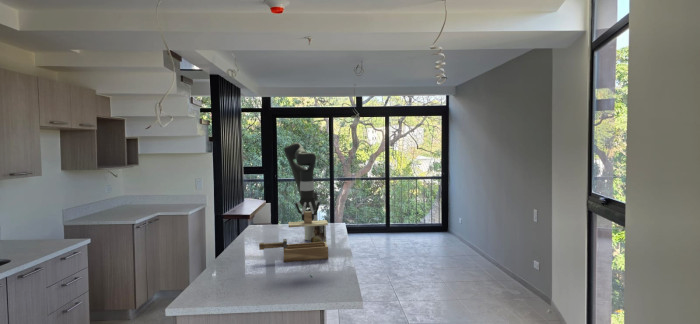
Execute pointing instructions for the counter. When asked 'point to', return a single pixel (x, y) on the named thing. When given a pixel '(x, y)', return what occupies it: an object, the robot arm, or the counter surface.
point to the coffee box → (318, 233)
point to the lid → (308, 221)
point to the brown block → (270, 245)
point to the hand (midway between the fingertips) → (307, 220)
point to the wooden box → (304, 251)
